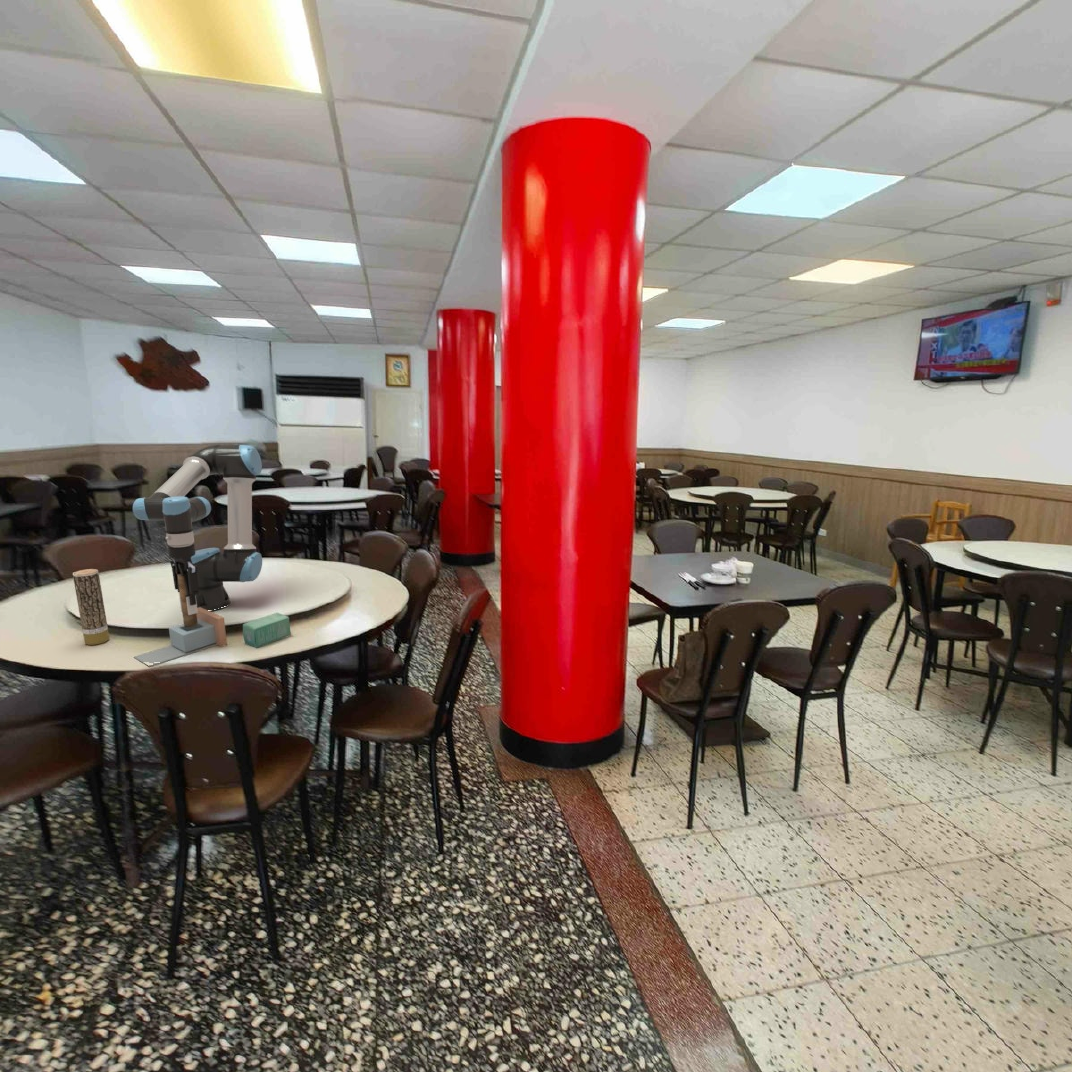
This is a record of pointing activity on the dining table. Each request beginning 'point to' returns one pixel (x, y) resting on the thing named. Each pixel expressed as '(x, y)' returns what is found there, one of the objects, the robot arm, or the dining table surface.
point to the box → (266, 630)
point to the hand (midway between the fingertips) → (189, 612)
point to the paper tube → (91, 606)
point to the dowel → (187, 619)
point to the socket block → (192, 636)
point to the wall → (214, 624)
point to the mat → (166, 654)
